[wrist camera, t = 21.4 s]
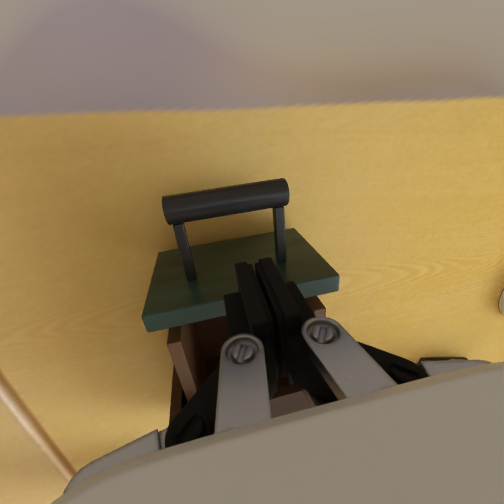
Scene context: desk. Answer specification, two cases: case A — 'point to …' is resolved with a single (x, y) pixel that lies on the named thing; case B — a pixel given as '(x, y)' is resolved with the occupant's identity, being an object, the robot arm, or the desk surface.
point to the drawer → (223, 274)
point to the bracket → (501, 303)
